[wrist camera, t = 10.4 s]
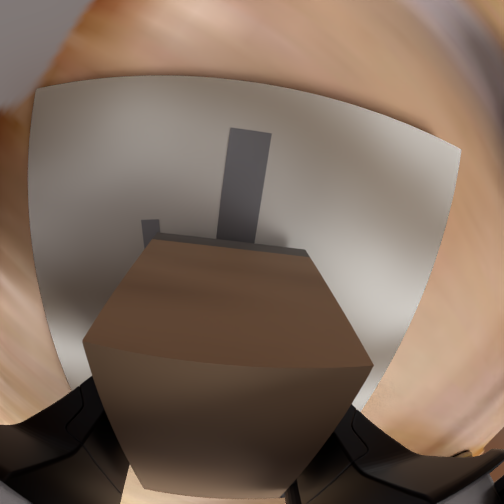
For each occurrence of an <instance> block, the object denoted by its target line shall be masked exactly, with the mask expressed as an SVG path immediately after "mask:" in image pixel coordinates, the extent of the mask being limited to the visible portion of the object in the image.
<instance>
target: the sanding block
mask: <svg viewBox="0 0 504 504" xmlns="http://www.w3.org/2000/svg"><path fill="white" fill-rule="evenodd" d="M82 343H83V347H84V350H85V354H86V357H87V361H88V364H89V367H90V370H91V373H92V376H93V379H94V382H95V385H96V388H97V391H98V394H99V396H100V399H101V402H102V404H103V407H104V409H105V412H106V414H107V417H108V419H109V421H110V424H111V426H112V428H113V431H114V433H115V435H116V437H117V439H118V441H119V443H120V445H121V448H122V450H123V452H124V454H125V456H126V457H127V459H128V461H129V463H130V465H131V467H132V469H133V471H134V472H135V474H136V476H137V478H138V479H139V481H140V483H141V484H142V486H143V488H144V489H148V490H153V491H158V492H164V493H170V494H177V495H185V496H194V497H205V498H220V499H267V498H279V497H280V496H281V495H282V494H283V493H284V492H285V491H286V490H287V489H288V488H289V487H290V486H291V484H292V483H293V482H294V481H295V480H296V479H297V478H298V476H299V475H300V474H301V473H302V472H303V470H304V469H305V468H306V467H307V466H308V464H309V463H310V462H311V461H312V459H313V458H314V457H315V455H316V454H317V453H318V452H319V450H320V449H321V448H322V446H323V445H324V444H325V442H326V441H327V440H328V438H329V437H330V435H331V434H332V433H333V431H334V430H335V428H336V427H337V425H338V424H339V422H340V421H341V419H342V418H343V416H344V415H345V413H346V412H347V410H348V409H349V407H350V406H351V404H352V403H353V401H354V399H355V398H356V396H357V394H358V393H359V391H360V389H361V388H362V386H363V384H364V383H365V381H366V379H367V377H368V376H369V374H370V372H371V370H372V368H373V367H374V364H373V363H372V361H371V359H370V357H369V355H368V354H367V352H366V350H365V348H364V346H363V345H362V343H361V341H360V339H359V338H358V336H357V334H356V332H355V331H354V329H353V327H352V326H351V324H350V322H349V320H348V319H347V317H346V315H345V314H344V312H343V310H342V309H341V307H340V305H339V303H338V302H337V300H336V298H335V297H334V295H333V293H332V292H331V290H330V289H329V287H328V285H327V284H326V282H325V280H324V279H323V277H322V275H321V274H320V272H319V271H318V269H317V267H316V266H315V264H314V263H313V261H312V259H311V258H310V256H309V255H308V253H307V252H306V250H305V249H297V248H288V247H280V246H272V245H264V244H255V243H247V242H238V241H230V240H221V239H212V238H204V237H195V236H186V235H177V234H168V233H159V232H157V234H156V235H155V236H154V237H153V239H152V240H151V241H150V243H149V244H148V245H147V247H146V248H145V249H144V251H143V252H142V253H141V255H140V256H139V257H138V259H137V260H136V261H135V263H134V264H133V265H132V267H131V268H130V269H129V271H128V272H127V274H126V275H125V276H124V278H123V279H122V281H121V282H120V284H119V285H118V286H117V288H116V289H115V291H114V292H113V294H112V295H111V297H110V298H109V300H108V301H107V303H106V304H105V306H104V307H103V309H102V310H101V312H100V313H99V315H98V316H97V318H96V319H95V321H94V322H93V324H92V326H91V327H90V329H89V330H88V332H87V334H86V335H85V337H84V338H83V340H82Z"/></svg>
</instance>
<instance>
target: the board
mask: <svg viewBox="0 0 504 504" xmlns="http://www.w3.org/2000/svg"><path fill="white" fill-rule="evenodd" d="M460 156H461V149H459V148H458V147H456V146H454V145H452V144H450V143H448V142H446V141H444V140H442V139H440V138H438V137H435V136H433V135H431V134H429V133H427V132H425V131H422V130H420V129H418V128H415V127H413V126H411V125H408V124H406V123H403V122H401V121H398V120H396V119H393V118H391V117H388V116H385V115H382V114H380V113H377V112H374V111H371V110H368V109H365V108H362V107H359V106H356V105H353V104H349V103H346V102H343V101H339V100H335V99H332V98H328V97H324V96H320V95H316V94H312V93H308V92H304V91H299V90H294V89H290V88H284V87H279V86H274V85H268V84H262V83H255V82H248V81H241V80H232V79H223V78H212V77H197V76H170V75H151V76H124V77H111V78H100V79H91V80H83V81H76V82H69V83H63V84H58V85H53V86H48V87H43V88H38V89H36V93H35V98H34V105H33V111H32V119H31V128H30V139H29V154H28V204H29V220H30V231H31V240H32V248H33V256H34V262H35V268H36V274H37V279H38V284H39V289H40V294H41V298H42V303H43V307H44V311H45V314H46V318H47V322H48V325H49V329H50V332H51V336H52V339H53V342H54V345H55V348H56V351H57V354H58V357H59V360H60V362H61V365H62V368H63V370H64V373H65V376H66V378H67V381H68V383H69V385H70V388H71V390H74V389H75V388H76V387H78V386H79V387H80V384H82V383H83V382H84V381H85V380H87V379H88V378H89V377H90V376H92V373H91V370H90V367H89V364H88V361H87V357H86V354H85V350H84V347H83V343H82V340H83V338H84V337H85V335H86V334H87V332H88V330H89V329H90V327H91V326H92V324H93V322H94V321H95V319H96V318H97V316H98V315H99V313H100V312H101V310H102V309H103V307H104V306H105V304H106V303H107V301H108V300H109V298H110V297H111V295H112V294H113V292H114V291H115V289H116V288H117V286H118V285H119V284H120V282H121V281H122V279H123V278H124V276H125V275H126V274H127V272H128V271H129V269H130V268H131V267H132V265H133V264H134V263H135V261H136V260H137V259H138V257H139V256H140V255H141V253H142V252H143V251H144V249H145V248H146V247H147V245H148V244H149V243H150V241H151V240H152V239H153V237H154V236H155V235H156V234H157V232H159V233H168V234H177V235H186V236H195V237H204V238H212V239H221V240H230V241H238V242H247V243H255V244H264V245H272V246H280V247H288V248H297V249H305V250H306V252H307V253H308V255H309V256H310V258H311V259H312V261H313V263H314V264H315V266H316V267H317V269H318V271H319V272H320V274H321V275H322V277H323V279H324V280H325V282H326V284H327V285H328V287H329V289H330V290H331V292H332V293H333V295H334V297H335V298H336V300H337V302H338V303H339V305H340V307H341V309H342V310H343V312H344V314H345V315H346V317H347V319H348V320H349V322H350V324H351V326H352V327H353V329H354V331H355V332H356V334H357V336H358V338H359V339H360V341H361V343H362V345H363V346H364V348H365V350H366V352H367V354H368V355H369V357H370V359H371V361H372V363H373V364H374V367H373V368H372V370H371V372H370V374H369V376H368V377H367V379H366V381H365V383H364V384H363V386H362V388H361V389H360V391H359V393H358V394H357V396H356V398H355V399H354V401H353V403H352V405H353V406H354V407H355V408H356V410H359V411H360V412H361V410H362V409H363V407H364V406H365V404H366V403H367V401H368V400H369V398H370V396H371V395H372V393H373V392H374V390H375V388H376V387H377V385H378V383H379V382H380V380H381V378H382V377H383V375H384V373H385V371H386V369H387V368H388V366H389V364H390V362H391V360H392V359H393V357H394V355H395V353H396V351H397V349H398V347H399V345H400V343H401V341H402V339H403V337H404V335H405V333H406V331H407V329H408V327H409V325H410V322H411V320H412V318H413V316H414V314H415V311H416V309H417V307H418V304H419V302H420V299H421V297H422V295H423V292H424V290H425V287H426V284H427V282H428V279H429V276H430V274H431V271H432V268H433V265H434V262H435V259H436V256H437V253H438V250H439V247H440V244H441V241H442V237H443V234H444V230H445V227H446V223H447V219H448V216H449V212H450V208H451V203H452V199H453V195H454V190H455V185H456V180H457V175H458V169H459V163H460Z"/></svg>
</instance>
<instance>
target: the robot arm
mask: <svg viewBox="0 0 504 504" xmlns="http://www.w3.org/2000/svg"><path fill="white" fill-rule="evenodd" d="M503 461H504V450H503V449H491V450H489V451H488V452H486V453H485V454H483V455H480V456H476V457H438V456H424V455H419V454H416V453H414V452H412V451H410V450H408V449H407V448H405V447H404V446H403V445H401V444H400V443H398V442H397V441H396V440H394V439H393V438H391V437H390V436H389V435H387V434H386V433H385V432H383V431H382V430H381V429H379V428H378V427H377V426H376V425H374V424H373V423H372V422H371V421H370V420H368V419H367V418H366V417H365V416H364V415H363V414H362V413H361V412H360V411H359V410H356V408H355V407H354V406H353V405H352V404H351V406H350V407H349V409H348V410H347V412H346V413H345V415H344V416H343V418H342V419H341V421H340V422H339V424H338V425H337V427H336V428H335V430H334V431H333V433H332V434H331V435H330V437H329V438H328V440H327V441H326V442H325V444H324V445H323V446H322V448H321V449H320V450H319V452H318V453H317V454H316V455H315V457H314V458H313V459H312V461H311V462H310V463H309V464H308V466H307V467H306V468H305V469H304V470H303V472H302V473H301V474H300V475H299V476H298V478H297V479H296V480H295V481H294V482H293V483H292V484H291V486H290V487H289V488H288V489H287V490H286V491H285V492H284V493H283V494H282V495H281V496H280V497H279V498H284V497H285V501H286V504H504V475H503V476H502V477H501V478H499V479H498V480H497V481H495V482H493V480H492V478H491V476H490V475H489V473H490V472H492V471H493V470H494V469H495V468H496V467H498V466H499V465H500V464H501V463H502V462H503ZM129 465H130V463H129V461H128V459H127V457H126V456H125V454H124V452H123V450H122V448H121V445H120V443H119V441H118V439H117V437H116V435H115V433H114V431H113V428H112V426H111V424H110V421H109V419H108V417H107V414H106V412H105V409H104V407H103V404H102V402H101V399H100V396H99V394H98V391H97V388H96V385H95V382H94V379H93V376H90V377H89V378H88V379H87V380H85V381H84V382H83V383H82V384H80V387H79V386H78V387H76V388H75V389H74V390H72V391H71V392H70V393H68V394H67V395H66V396H64V397H63V398H62V399H60V400H58V401H57V402H55V403H54V404H52V405H51V406H49V407H47V408H46V409H44V410H42V411H41V412H39V413H37V414H35V415H34V416H32V417H30V418H29V419H27V420H25V421H23V422H21V423H18V424H14V425H0V504H120V502H121V497H122V493H123V489H124V484H125V480H126V476H127V472H128V468H129Z"/></svg>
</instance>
